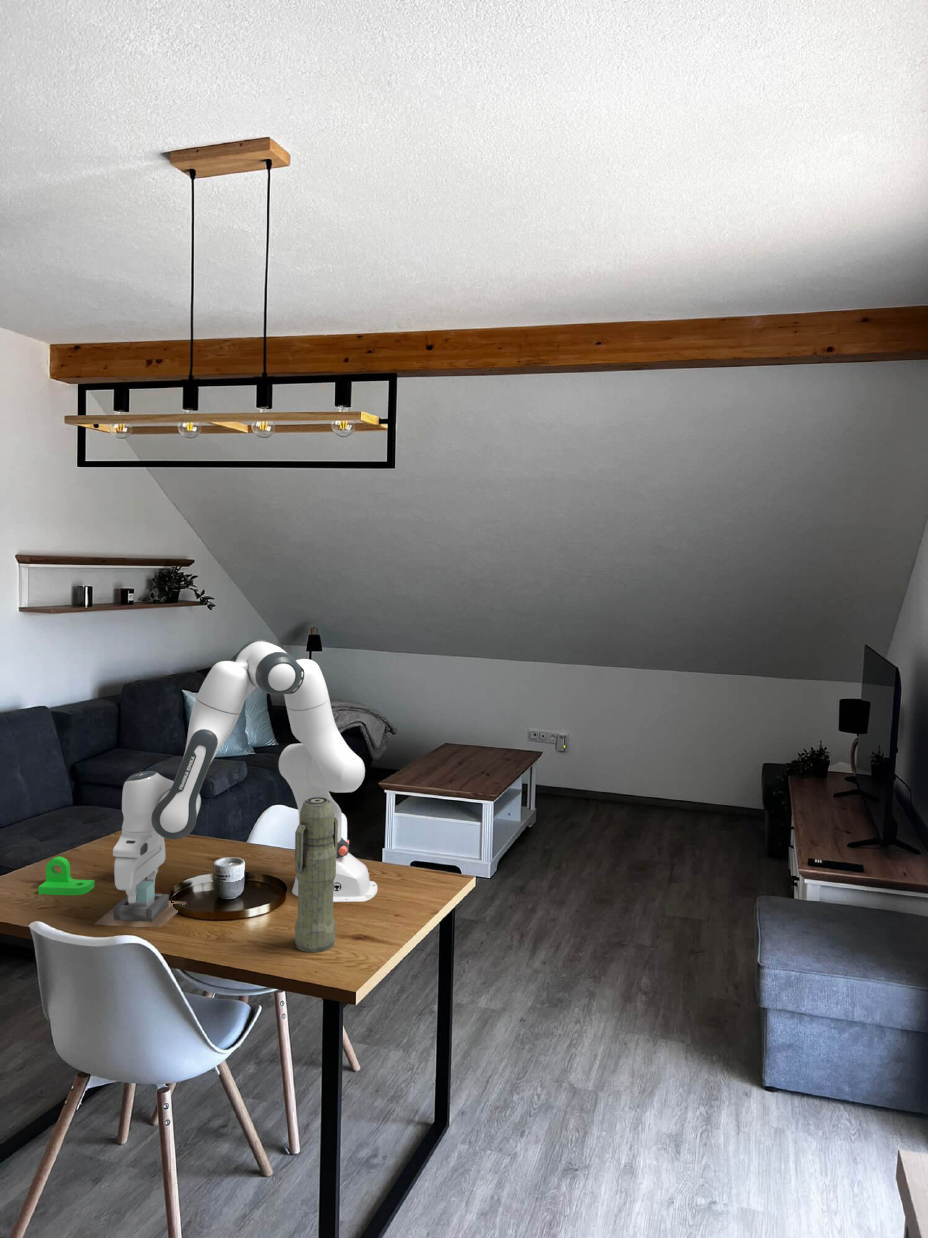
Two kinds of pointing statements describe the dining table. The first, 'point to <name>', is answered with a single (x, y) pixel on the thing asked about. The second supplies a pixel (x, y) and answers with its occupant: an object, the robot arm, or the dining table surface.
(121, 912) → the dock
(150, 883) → the pale teal block
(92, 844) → the dining table surface
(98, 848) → the dining table surface
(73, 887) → the mechanical part
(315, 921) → the thermos
